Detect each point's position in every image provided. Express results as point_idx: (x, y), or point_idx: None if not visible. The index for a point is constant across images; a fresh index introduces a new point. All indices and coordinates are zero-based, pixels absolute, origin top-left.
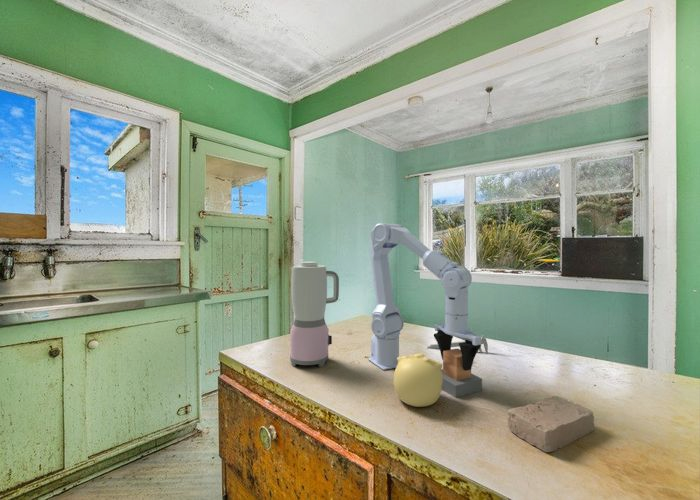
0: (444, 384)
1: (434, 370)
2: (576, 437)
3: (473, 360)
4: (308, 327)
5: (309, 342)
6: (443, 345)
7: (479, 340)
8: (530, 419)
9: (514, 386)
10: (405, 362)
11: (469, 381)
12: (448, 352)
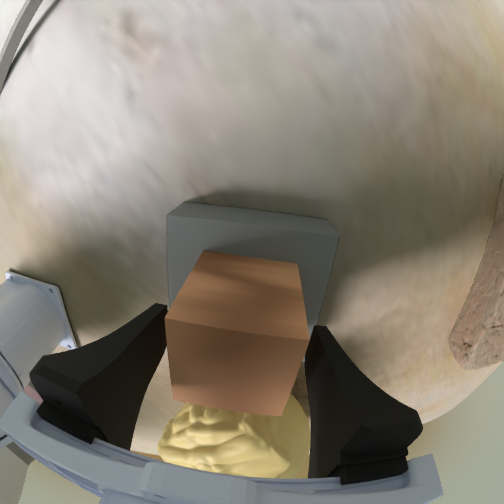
0: None
1: (294, 470)
2: None
3: (346, 354)
4: (33, 458)
5: None
6: (138, 394)
7: (429, 482)
8: (493, 357)
9: (382, 80)
10: None
11: (318, 305)
12: (204, 400)
